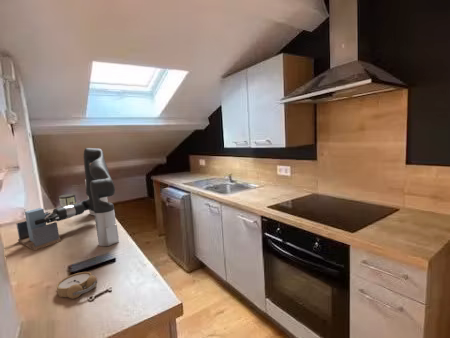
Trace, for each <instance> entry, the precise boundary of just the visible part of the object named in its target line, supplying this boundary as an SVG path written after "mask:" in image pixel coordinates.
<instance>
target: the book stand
mask: <svg viewBox="0 0 450 338" xmlns="http://www.w3.org/2000/svg"><path fill="white" fill-rule="evenodd" d="M61 240H62V239H61V238H60V237H59V239H57V240H54V241H51V242H48V243H46V244H43V245H40V246H37V247H34V242H32V241H30V238H29V237H27V238H24V239H21V240H20V239H19V238H18V239H17V241H18V243H19V244H21V245H24V246H25V247H28V248H29V249H31V250H34V251H38V250H39V249H42V248H45V247H47V246H51V245H53V244H56V243H59V242H61Z"/></svg>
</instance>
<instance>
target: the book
mask: <svg viewBox="0 0 450 338" xmlns="http://www.w3.org/2000/svg"><path fill="white" fill-rule="evenodd" d="M44 213H45V209H44V208H41V207H38V208H33V209H30V210H27V211H24V215H25V221H26V222H27V227H28V233H29V238H30V241H32V242H33V236H32V231H31V229H34V228H38V227H41V226H44V225H47V223H42V224H38V225H35V221H36V220H40V219H44V218H45V214H44Z"/></svg>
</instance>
